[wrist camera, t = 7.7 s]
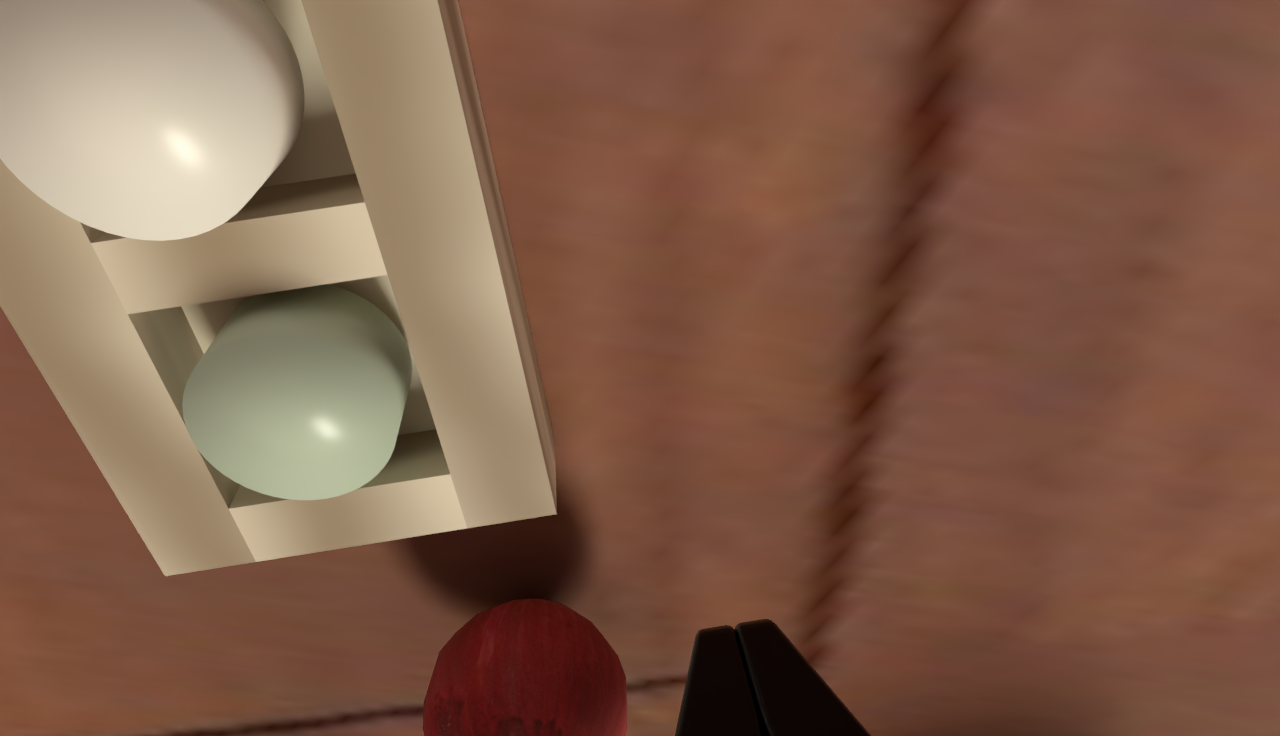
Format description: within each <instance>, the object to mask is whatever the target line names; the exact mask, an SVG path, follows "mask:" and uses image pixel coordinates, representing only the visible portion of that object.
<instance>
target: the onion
mask: <svg viewBox="0 0 1280 736" xmlns="http://www.w3.org/2000/svg"><path fill="white" fill-rule="evenodd" d="M626 730H627V692H626V677H625V674H624V671H623V668H622V666H621V663H620V660H619V658H618V655H617V654H616V653H615V651H614V650H613V649H612V647H611V646H610V645H609V643H608V642H607V641H606V639H605V638H604V637H603V635H602V634H601V633H600V632H599V630H598V629H597V628H596V627H595V626H594V625H593V623H592V622H591V621H589V620H588V619H586V618H585V617H583V616H581V615H580V614H578V613H576V612H575V611H573V610H572V609H570V608H568V607H566V606H565V605H563V604H560V603H556V602H553V601H549V600H545V599H541V598H536V599H515V600H512V601H509V602H506V603H504V604H501V605H498V606H496V607H493V608H490V609H488V610H486V611H483V612H481V613H479V614H477V615H475V616H474V617H473V618H472V619H471V620H470V621H469V622H467V623H466V624H465V625H464V626H463V627H462V628H461V629H460V630H458V631H457V632H456V633H455V634H454V635H453V637H452V638H451V639H450V640H449V641H448V642H447V644H446V645H445V646H444V647H443V648H442V650H441V651H440V652H439V655H438V658H437V662H436V665H435V668H434V671H433V674H432V677H431V681H430V684H429V687H428V691H427V694H426V697H425V700H424V713H423V731H424V735H425V736H625V734H626Z"/></svg>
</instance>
